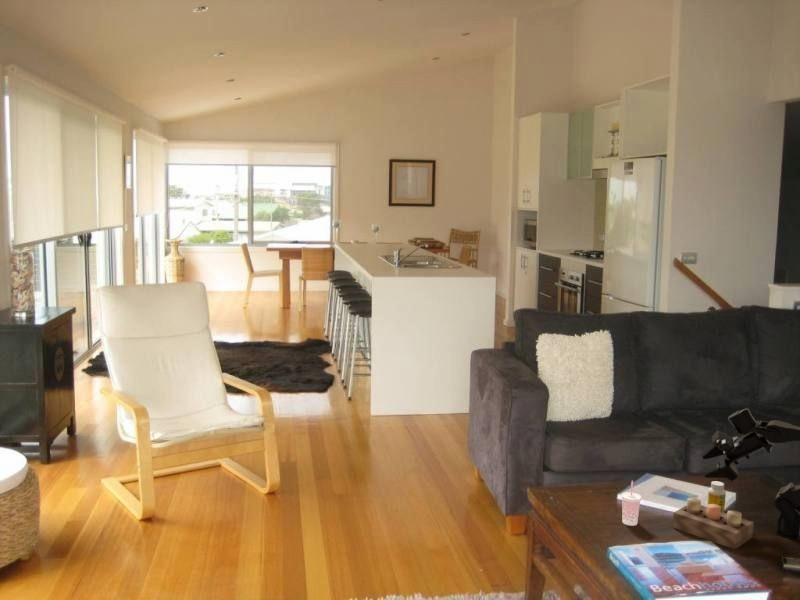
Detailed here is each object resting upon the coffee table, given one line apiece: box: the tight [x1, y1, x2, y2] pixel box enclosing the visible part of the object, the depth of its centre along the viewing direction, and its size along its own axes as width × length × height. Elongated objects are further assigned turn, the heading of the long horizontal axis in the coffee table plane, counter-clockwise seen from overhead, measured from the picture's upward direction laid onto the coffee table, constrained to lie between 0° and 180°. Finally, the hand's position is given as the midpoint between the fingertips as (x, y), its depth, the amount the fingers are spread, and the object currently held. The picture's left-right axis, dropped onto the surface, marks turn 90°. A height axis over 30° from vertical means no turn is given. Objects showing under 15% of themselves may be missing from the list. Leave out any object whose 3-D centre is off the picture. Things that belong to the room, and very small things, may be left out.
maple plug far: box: [686, 497, 702, 515], centre depth 255 cm, size 4×4×5 cm
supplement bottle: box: [707, 480, 727, 513], centre depth 267 cm, size 5×5×10 cm
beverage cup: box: [621, 480, 642, 527], centre depth 256 cm, size 6×6×14 cm
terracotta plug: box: [706, 503, 721, 522], centre depth 250 cm, size 4×4×5 cm
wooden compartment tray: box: [672, 504, 754, 550], centre depth 250 cm, size 20×12×5 cm, turn 43°
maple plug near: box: [726, 509, 742, 529], centre depth 245 cm, size 4×4×5 cm
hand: (703, 467), depth 261 cm, fingers open, 9 cm apart
